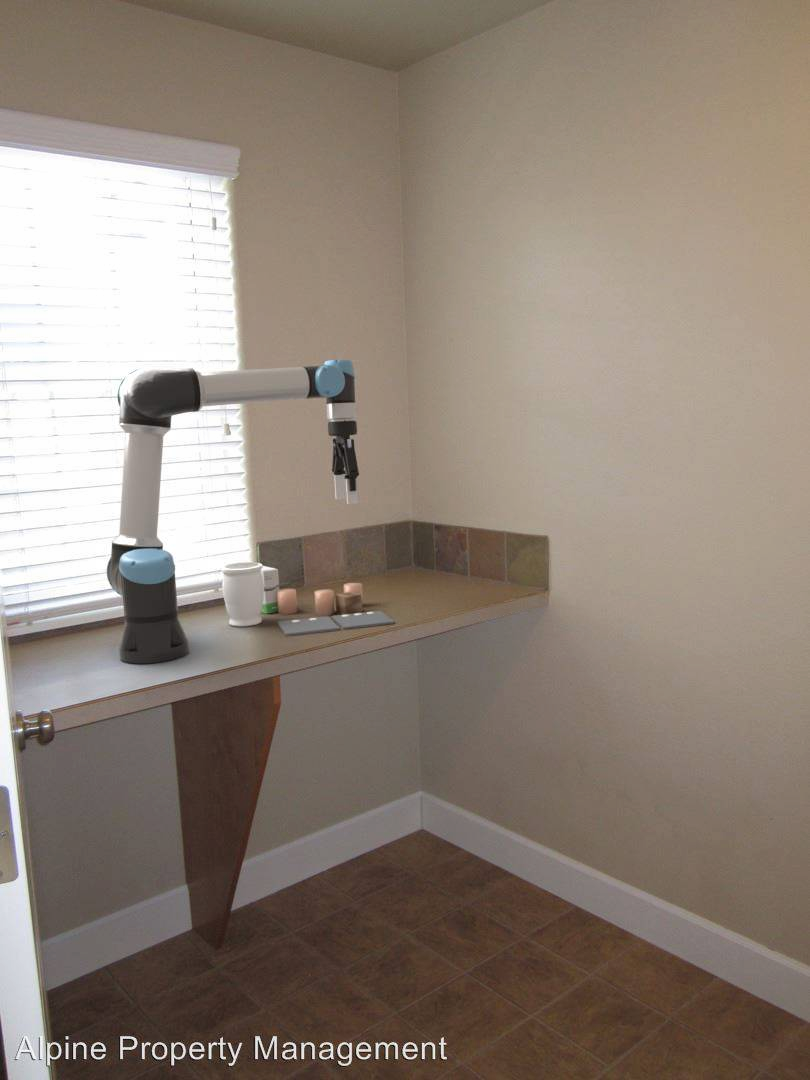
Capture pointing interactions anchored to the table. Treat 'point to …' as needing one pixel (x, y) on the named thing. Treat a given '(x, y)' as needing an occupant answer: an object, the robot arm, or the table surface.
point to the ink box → (270, 589)
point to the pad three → (362, 619)
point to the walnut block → (348, 603)
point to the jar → (243, 593)
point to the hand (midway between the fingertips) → (346, 501)
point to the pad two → (307, 626)
